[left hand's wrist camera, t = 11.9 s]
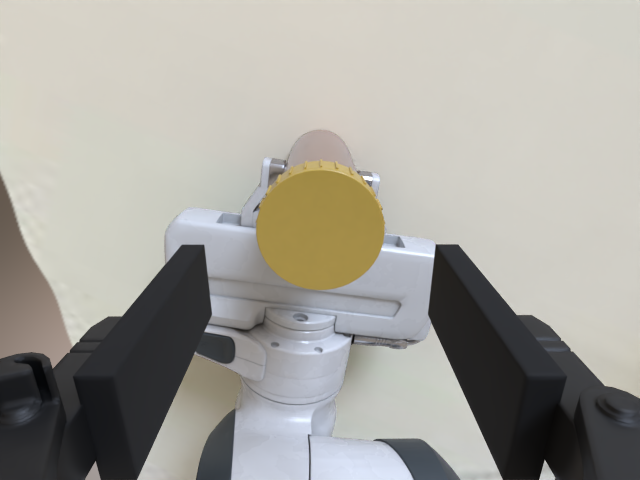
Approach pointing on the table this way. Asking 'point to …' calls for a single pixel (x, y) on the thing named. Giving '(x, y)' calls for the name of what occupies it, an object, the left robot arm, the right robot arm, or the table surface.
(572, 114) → the table surface
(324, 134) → the jar
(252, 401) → the right robot arm
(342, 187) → the lid
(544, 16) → the table surface
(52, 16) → the table surface
